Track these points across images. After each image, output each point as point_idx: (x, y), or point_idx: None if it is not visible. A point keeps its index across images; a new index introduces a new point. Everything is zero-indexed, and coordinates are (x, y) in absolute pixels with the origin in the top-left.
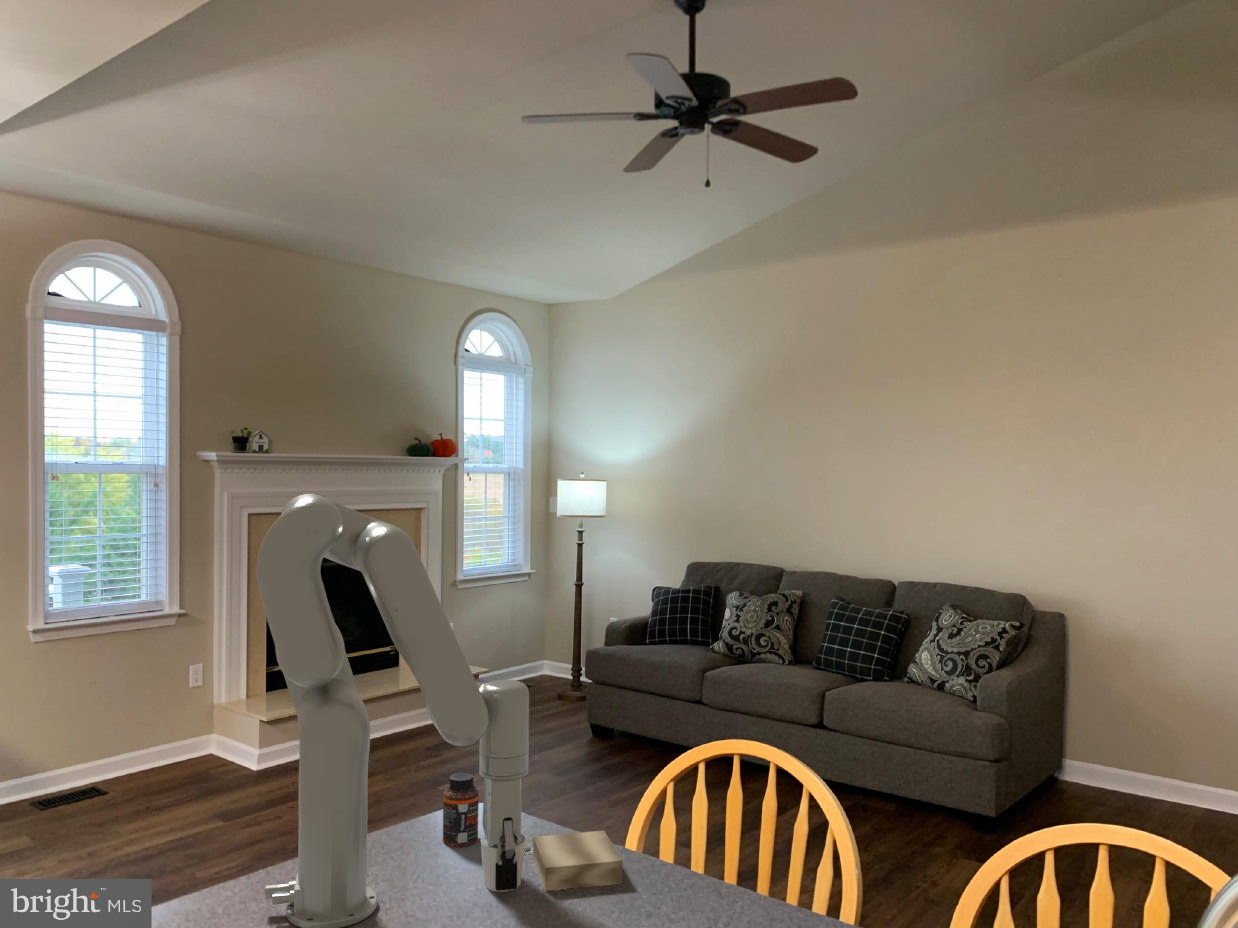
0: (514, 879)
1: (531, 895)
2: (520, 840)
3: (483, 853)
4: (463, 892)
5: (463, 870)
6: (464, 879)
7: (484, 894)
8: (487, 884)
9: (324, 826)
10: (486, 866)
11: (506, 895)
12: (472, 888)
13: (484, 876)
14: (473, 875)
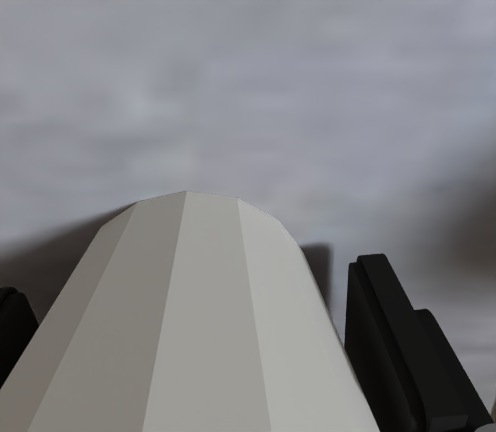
0: None
1: None
2: None
3: (38, 409)
4: (55, 37)
5: (475, 38)
6: (301, 46)
7: (34, 192)
8: (112, 228)
9: None
10: (61, 320)
11: (34, 307)
12: (130, 111)
13: (136, 235)
14: (356, 119)
